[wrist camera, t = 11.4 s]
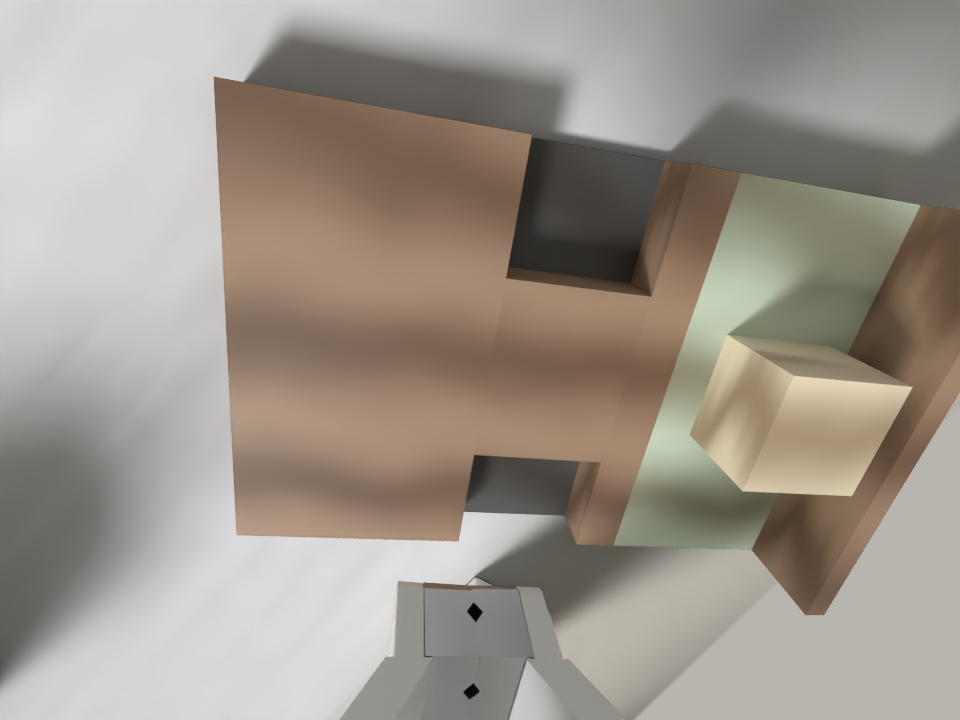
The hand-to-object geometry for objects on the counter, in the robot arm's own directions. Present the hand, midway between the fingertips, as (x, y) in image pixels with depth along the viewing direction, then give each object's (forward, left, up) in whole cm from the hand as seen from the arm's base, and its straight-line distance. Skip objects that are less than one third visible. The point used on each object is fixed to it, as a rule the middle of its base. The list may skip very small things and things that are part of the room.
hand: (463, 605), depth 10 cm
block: (+1, -14, -11) cm, 18 cm away
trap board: (0, -5, -13) cm, 14 cm away
